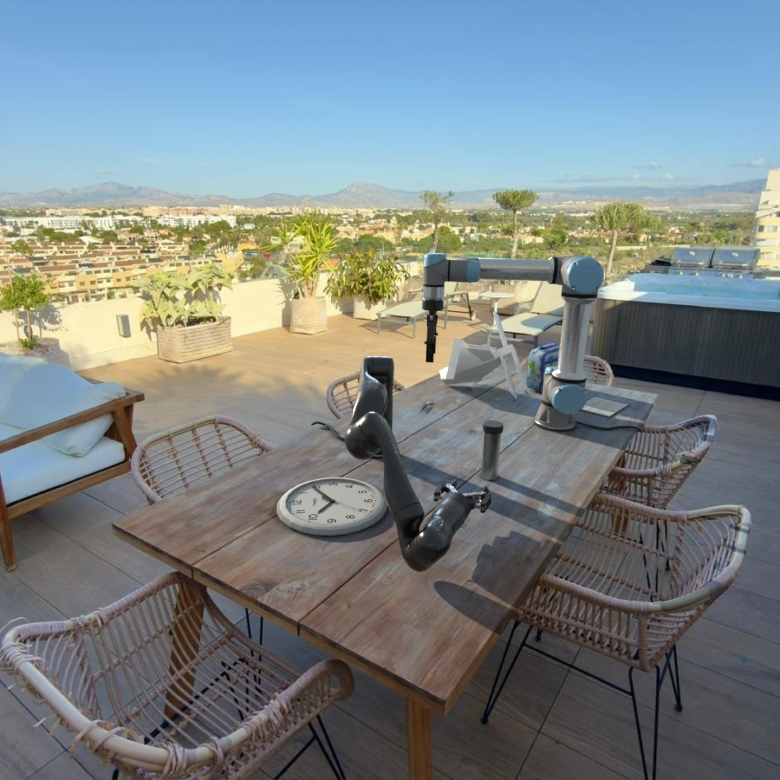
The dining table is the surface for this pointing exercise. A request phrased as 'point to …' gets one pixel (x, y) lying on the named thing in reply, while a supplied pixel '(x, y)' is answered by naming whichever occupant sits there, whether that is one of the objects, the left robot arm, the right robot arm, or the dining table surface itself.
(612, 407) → the invitation card
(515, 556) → the dining table surface
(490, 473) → the thermos
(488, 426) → the lid
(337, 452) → the dining table surface
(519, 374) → the white plastic object
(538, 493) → the dining table surface
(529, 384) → the lunch box
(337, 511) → the wall clock
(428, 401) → the fork
